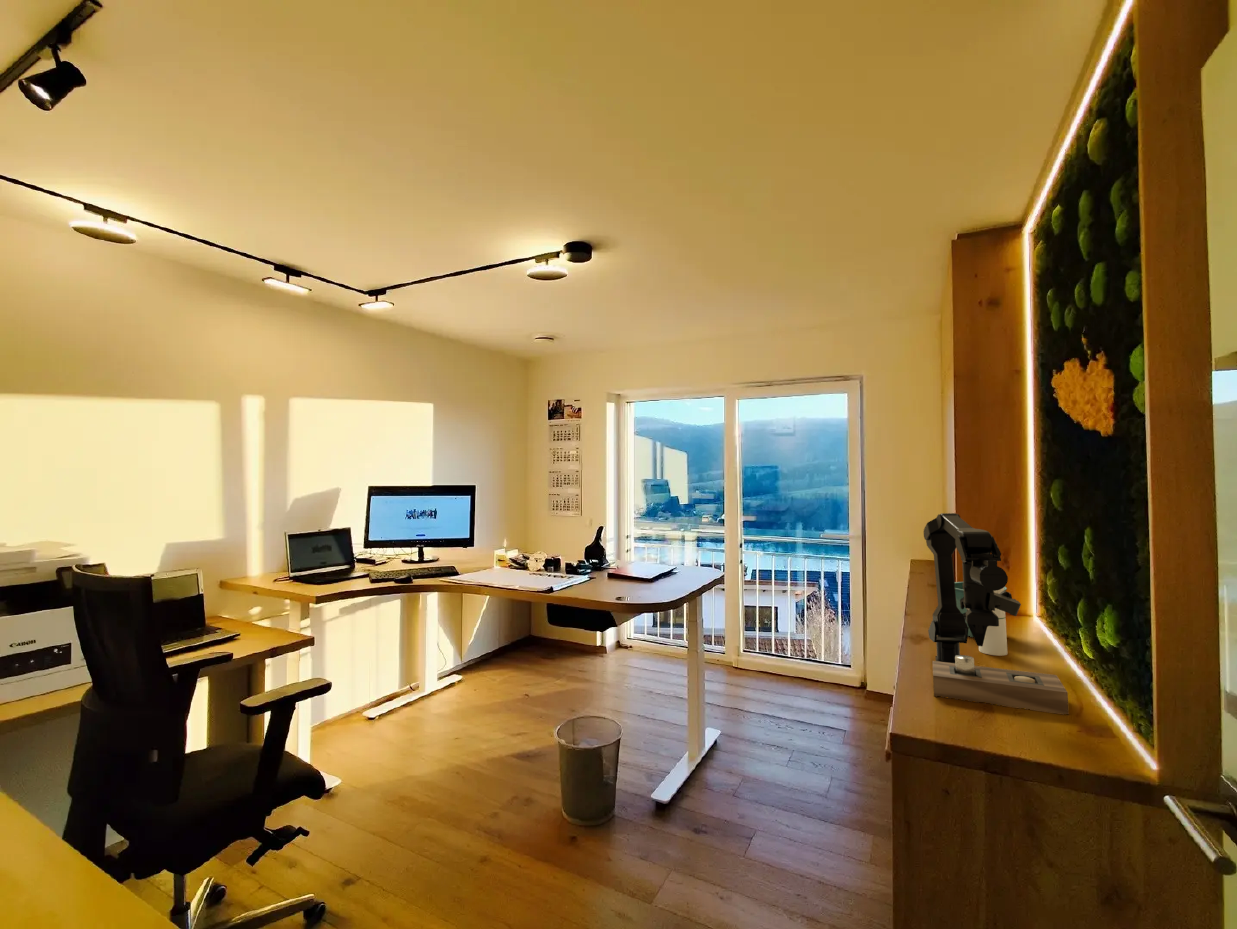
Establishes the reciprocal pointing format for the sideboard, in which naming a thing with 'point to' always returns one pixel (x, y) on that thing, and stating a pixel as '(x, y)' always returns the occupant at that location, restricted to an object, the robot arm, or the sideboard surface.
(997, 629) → the cylindrical container
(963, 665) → the metal peg
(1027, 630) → the sideboard surface
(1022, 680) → the beech peg
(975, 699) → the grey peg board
